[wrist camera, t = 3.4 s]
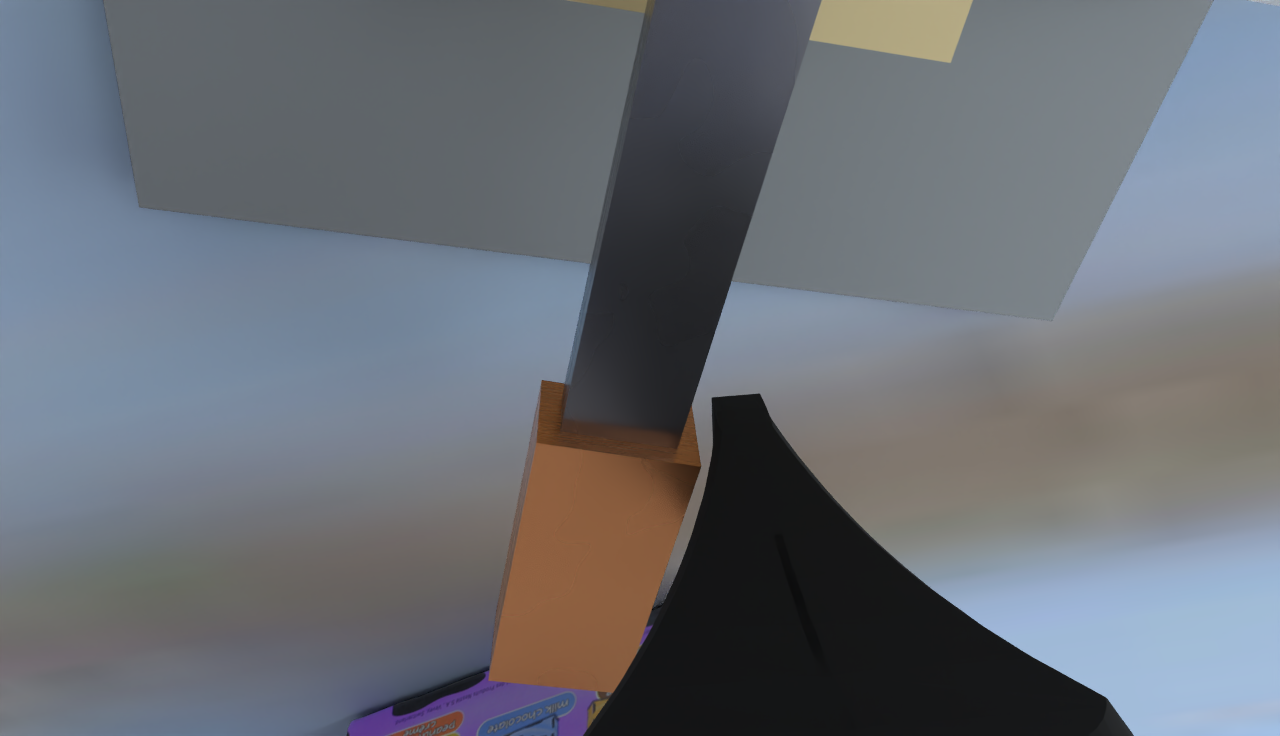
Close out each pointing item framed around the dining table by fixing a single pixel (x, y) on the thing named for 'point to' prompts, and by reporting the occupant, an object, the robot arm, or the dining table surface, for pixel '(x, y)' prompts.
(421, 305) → the dining table surface
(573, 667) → the valve lever
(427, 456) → the dining table surface
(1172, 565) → the dining table surface
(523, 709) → the candy box
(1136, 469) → the dining table surface
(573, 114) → the valve base
